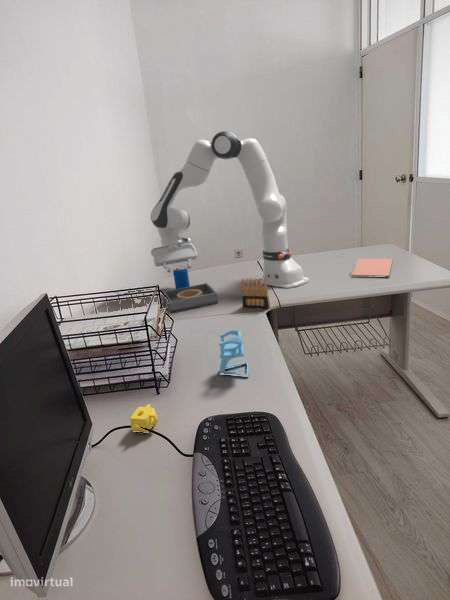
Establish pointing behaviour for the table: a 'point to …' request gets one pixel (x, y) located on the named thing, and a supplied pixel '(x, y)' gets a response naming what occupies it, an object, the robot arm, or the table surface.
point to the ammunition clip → (255, 295)
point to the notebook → (372, 267)
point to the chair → (231, 351)
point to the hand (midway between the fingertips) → (179, 269)
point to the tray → (190, 297)
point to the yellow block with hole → (143, 418)
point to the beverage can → (181, 277)
